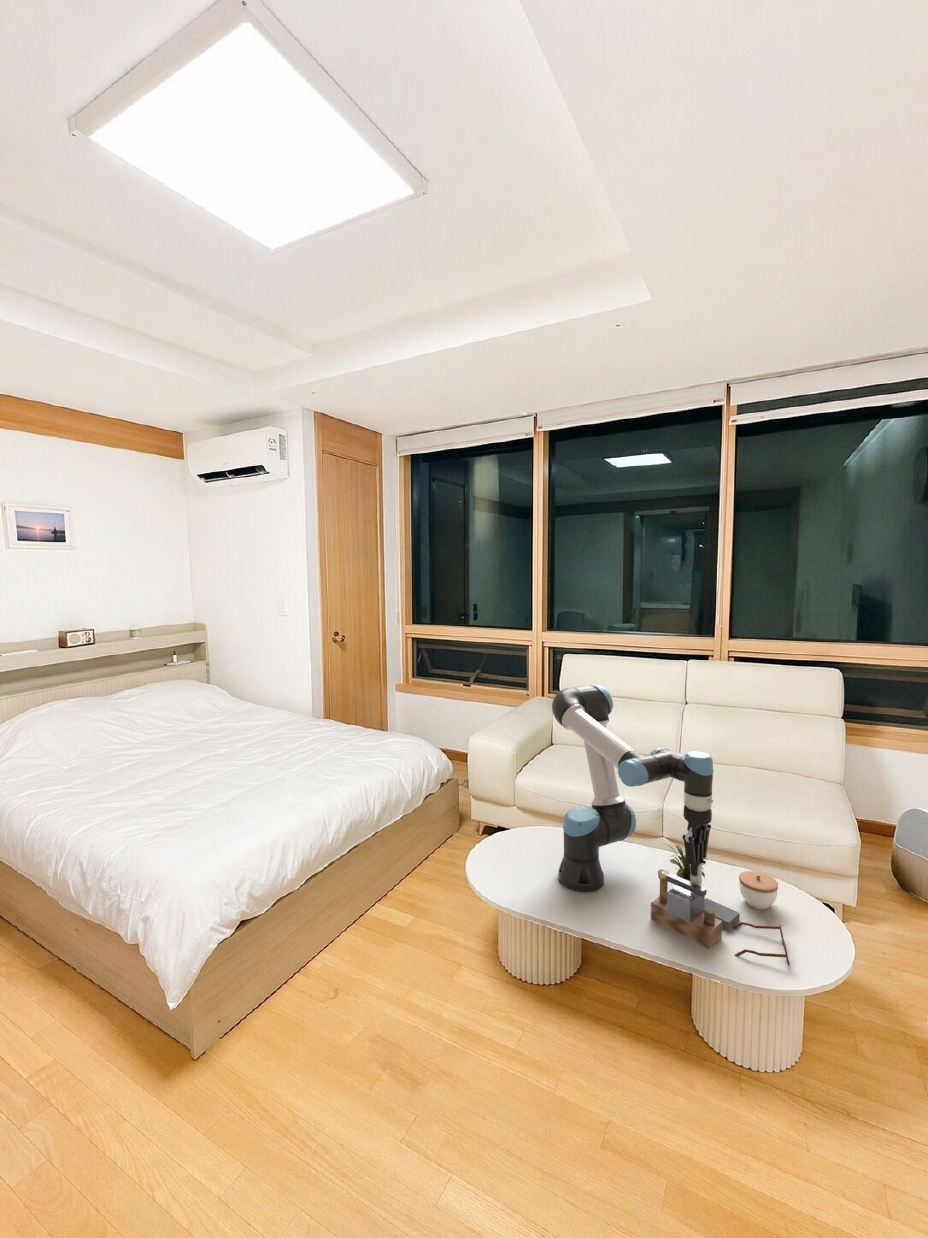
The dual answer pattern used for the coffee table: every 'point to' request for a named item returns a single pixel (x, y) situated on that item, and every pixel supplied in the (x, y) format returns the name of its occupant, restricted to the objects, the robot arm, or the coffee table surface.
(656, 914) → the body
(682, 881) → the lever
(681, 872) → the house plant
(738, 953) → the glasses
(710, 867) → the coffee table surface
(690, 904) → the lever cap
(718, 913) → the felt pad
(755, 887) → the lidded jar
